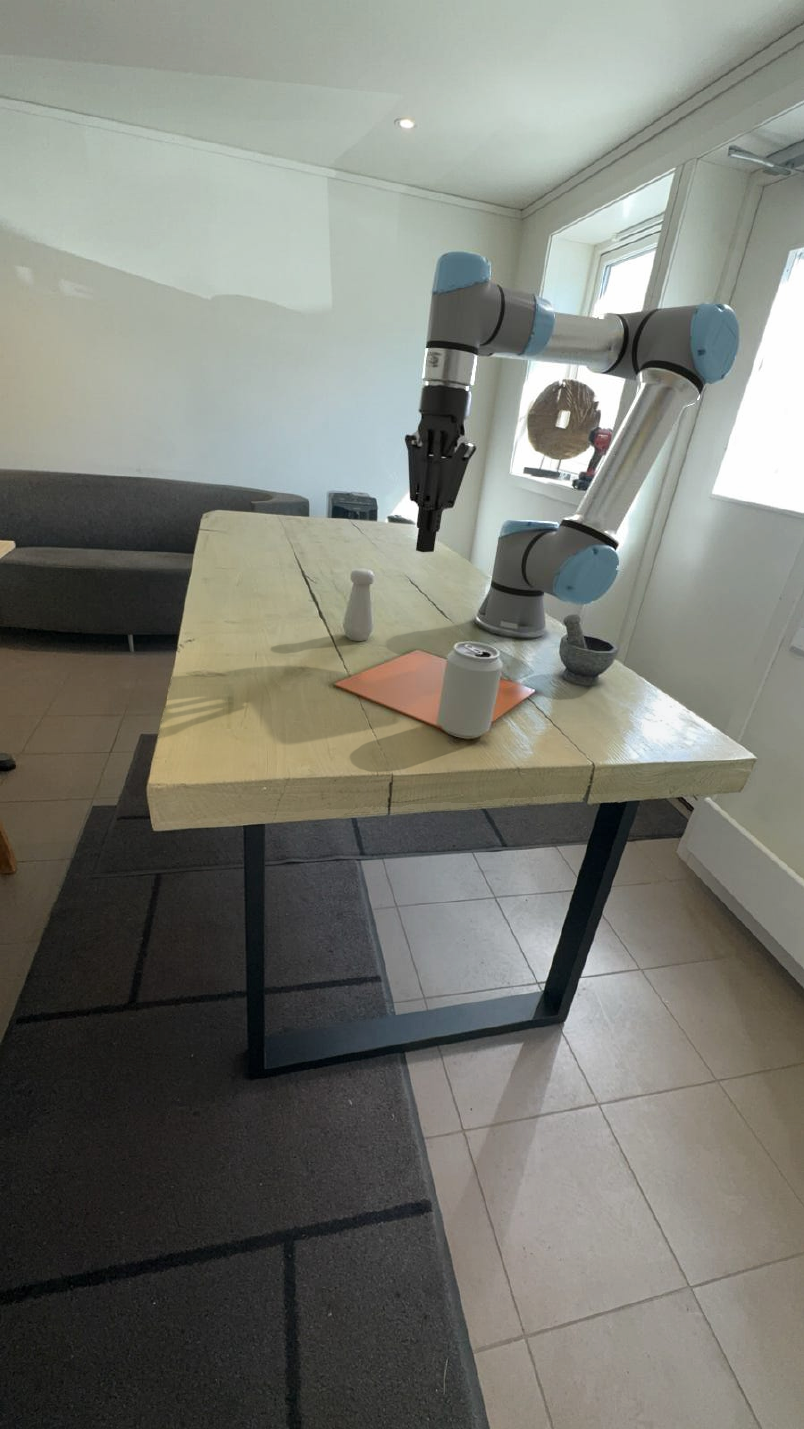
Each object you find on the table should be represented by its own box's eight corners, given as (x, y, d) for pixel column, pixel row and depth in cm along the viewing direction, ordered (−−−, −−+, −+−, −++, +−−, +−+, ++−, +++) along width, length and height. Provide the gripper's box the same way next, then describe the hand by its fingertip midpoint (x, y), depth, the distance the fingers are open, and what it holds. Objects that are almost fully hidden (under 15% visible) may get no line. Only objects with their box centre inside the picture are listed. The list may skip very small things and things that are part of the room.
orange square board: (417, 651, 110) (417, 649, 110) (535, 691, 99) (536, 690, 99) (333, 685, 92) (333, 683, 91) (467, 740, 80) (467, 738, 80)
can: (474, 747, 78) (491, 663, 73) (426, 728, 81) (438, 647, 76) (497, 728, 84) (513, 649, 79) (451, 711, 87) (464, 634, 82)
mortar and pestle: (587, 668, 112) (603, 607, 107) (618, 688, 105) (637, 623, 99) (536, 669, 109) (551, 606, 103) (565, 690, 101) (582, 623, 96)
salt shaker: (368, 644, 110) (375, 575, 104) (339, 639, 110) (344, 570, 105) (374, 635, 115) (381, 569, 110) (345, 630, 116) (351, 564, 110)
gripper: (397, 381, 87) (381, 543, 97) (463, 385, 79) (438, 561, 89) (432, 388, 92) (413, 541, 102) (497, 392, 84) (469, 559, 94)
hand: (424, 550), depth 96 cm, fingers closed
